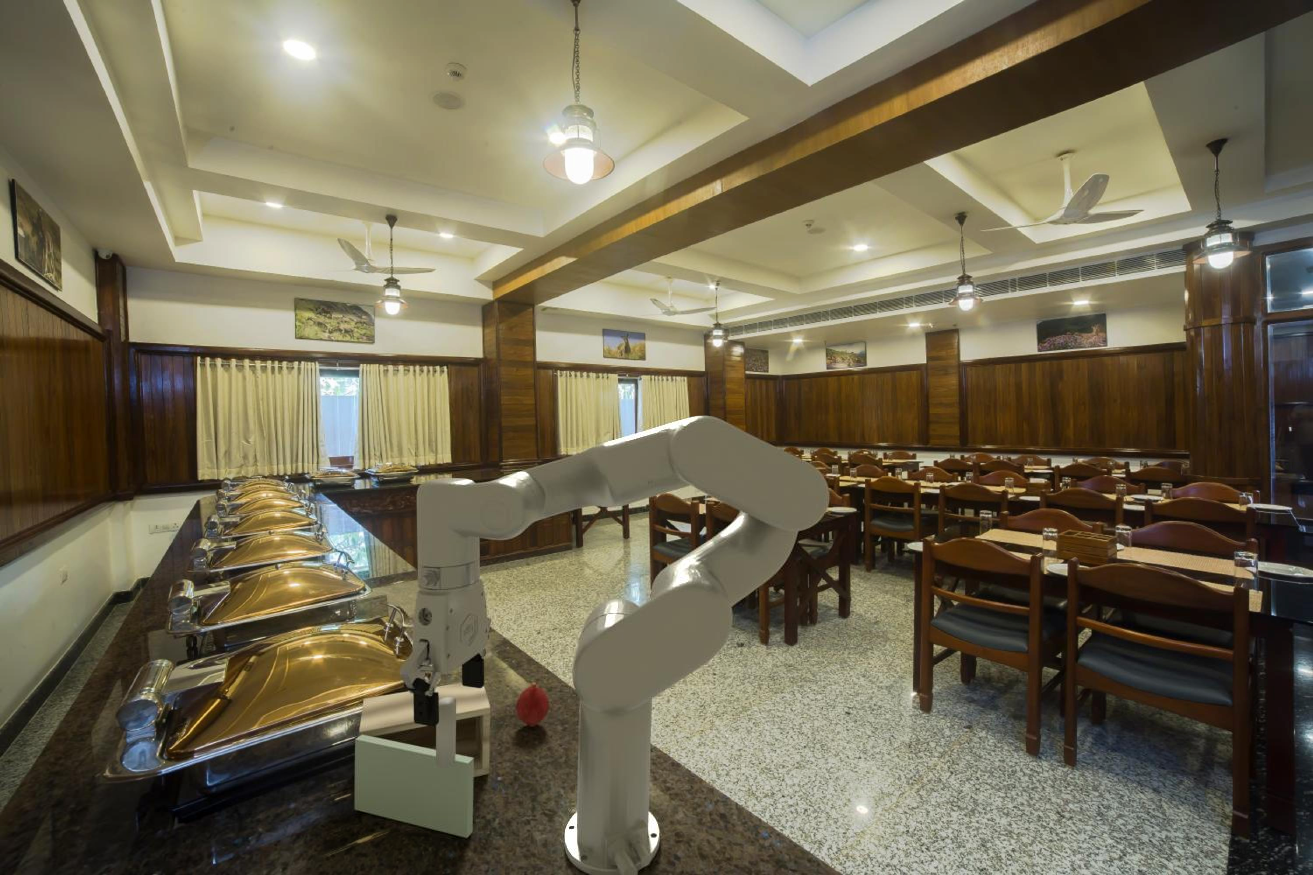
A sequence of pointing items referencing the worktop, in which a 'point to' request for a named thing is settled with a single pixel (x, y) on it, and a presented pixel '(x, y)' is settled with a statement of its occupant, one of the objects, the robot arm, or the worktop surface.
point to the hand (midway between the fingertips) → (451, 703)
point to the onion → (532, 705)
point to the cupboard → (397, 724)
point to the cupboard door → (417, 779)
